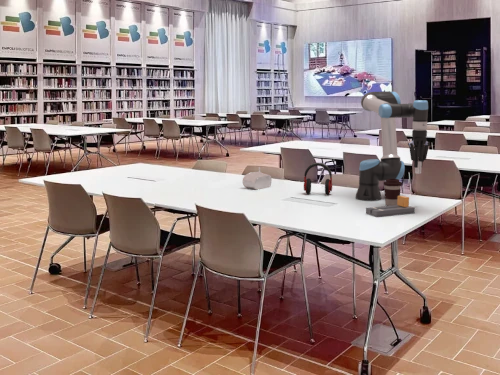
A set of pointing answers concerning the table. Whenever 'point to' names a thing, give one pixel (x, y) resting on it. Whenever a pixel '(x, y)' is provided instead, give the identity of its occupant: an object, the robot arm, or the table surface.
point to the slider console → (389, 210)
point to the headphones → (327, 183)
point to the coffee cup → (392, 191)
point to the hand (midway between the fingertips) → (418, 173)
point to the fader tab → (403, 201)
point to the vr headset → (257, 180)
